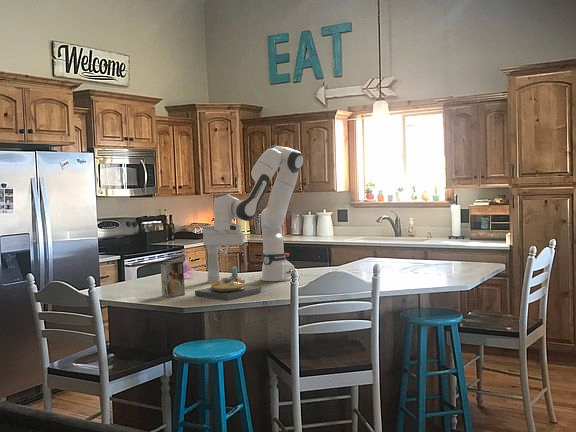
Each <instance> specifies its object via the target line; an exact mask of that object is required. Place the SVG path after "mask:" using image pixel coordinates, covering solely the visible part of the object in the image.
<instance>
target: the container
mask: <svg viewBox="0 0 576 432" xmlns="http://www.w3.org/2000/svg"><path fill="white" fill-rule="evenodd" d="M207 226H208V227H211V226H214V224H213V225H204V226H202V229H203V228H205V227H207ZM205 229H206V228H205ZM206 251H207V280H206V281H207V283H210V281H211V280H216V281H219V280H221V278H220V267H219V254H218V252H219V249H218V245H206ZM210 284H211V283H210Z"/></svg>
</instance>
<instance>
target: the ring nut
mask: <svg viewBox="0 0 576 432" xmlns="http://www.w3.org/2000/svg"><path fill="white" fill-rule="evenodd" d="M238 276H239V275H238V266H233V267H231V276H229V277H221V278H220V280H219V281H216V280H211V281H210V288H211V290H212V291H237V290H242V289H244V288H245V286H246V285H245V282H246V281H245V279H242V278H241V277H238Z"/></svg>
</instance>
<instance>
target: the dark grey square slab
mask: <svg viewBox="0 0 576 432" xmlns="http://www.w3.org/2000/svg"><path fill="white" fill-rule="evenodd" d="M261 291H262V290H261V287H258V286H250V285H249V286H248V285H245V288H244V289H242V290H237V291H212V290H211V287H207V288H203V289H202V288H201V289H198V290H197V289H196V290H194V296H195V297H201V298H207V299H213V300H214V299H216V300H224V301H230V300H231V301H232V300H235V299H240V298H245V297H249V296H253V295H257V294H261Z"/></svg>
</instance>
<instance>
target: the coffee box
mask: <svg viewBox="0 0 576 432" xmlns="http://www.w3.org/2000/svg"><path fill="white" fill-rule="evenodd" d="M183 263H184V261H179V260H174V261H167V262H166V261H165V262H160V277H161V294H162V297H165V298H170V297H171V298H172V297H177V296H185V294H186V293H185V291H186V290H185V279H184V273H183Z"/></svg>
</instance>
